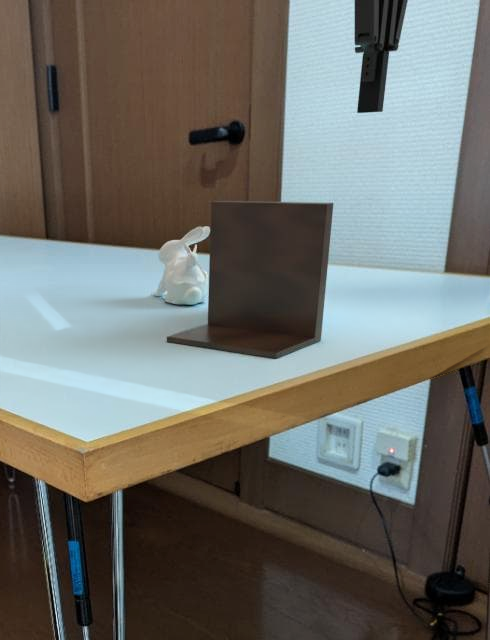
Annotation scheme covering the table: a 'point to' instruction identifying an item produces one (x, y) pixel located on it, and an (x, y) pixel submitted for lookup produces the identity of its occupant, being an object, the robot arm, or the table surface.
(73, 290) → the table surface
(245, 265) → the bookend
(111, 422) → the table surface
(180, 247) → the rabbit figurine
